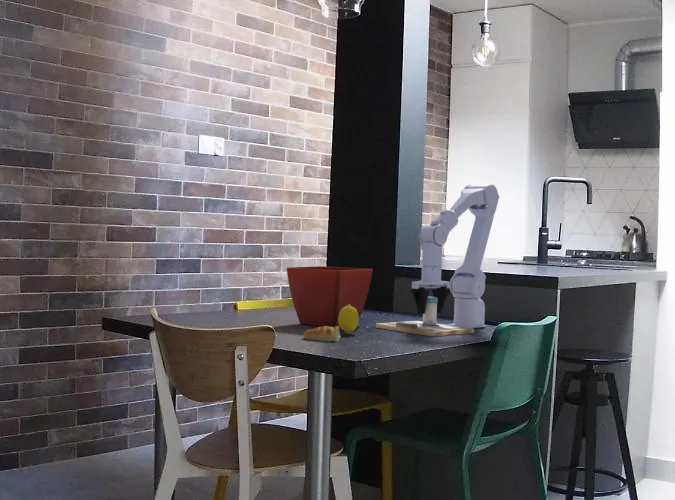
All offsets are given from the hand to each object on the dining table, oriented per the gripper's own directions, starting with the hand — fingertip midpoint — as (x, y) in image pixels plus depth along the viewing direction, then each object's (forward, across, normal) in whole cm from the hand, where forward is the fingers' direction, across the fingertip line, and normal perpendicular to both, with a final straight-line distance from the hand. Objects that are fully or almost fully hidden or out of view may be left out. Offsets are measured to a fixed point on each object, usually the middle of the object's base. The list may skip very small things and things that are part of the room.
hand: (429, 313), depth 237 cm
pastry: (+5, +43, +2) cm, 43 cm away
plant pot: (+5, +19, -23) cm, 30 cm away
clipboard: (+5, +2, 0) cm, 5 cm away
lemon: (+5, +29, -4) cm, 30 cm away
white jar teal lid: (+3, 0, 0) cm, 3 cm away
